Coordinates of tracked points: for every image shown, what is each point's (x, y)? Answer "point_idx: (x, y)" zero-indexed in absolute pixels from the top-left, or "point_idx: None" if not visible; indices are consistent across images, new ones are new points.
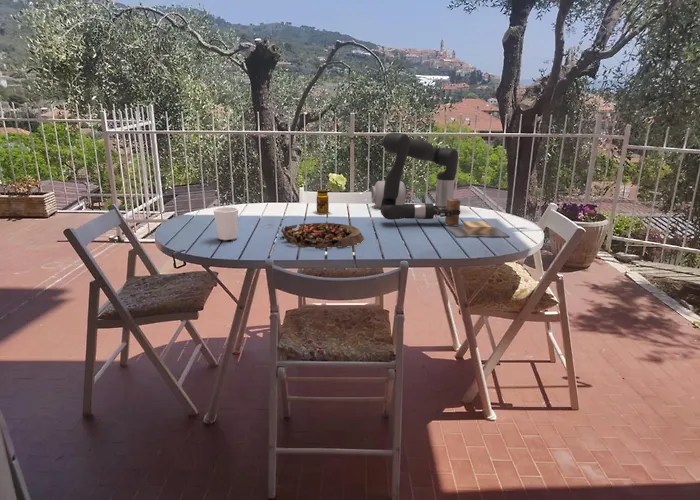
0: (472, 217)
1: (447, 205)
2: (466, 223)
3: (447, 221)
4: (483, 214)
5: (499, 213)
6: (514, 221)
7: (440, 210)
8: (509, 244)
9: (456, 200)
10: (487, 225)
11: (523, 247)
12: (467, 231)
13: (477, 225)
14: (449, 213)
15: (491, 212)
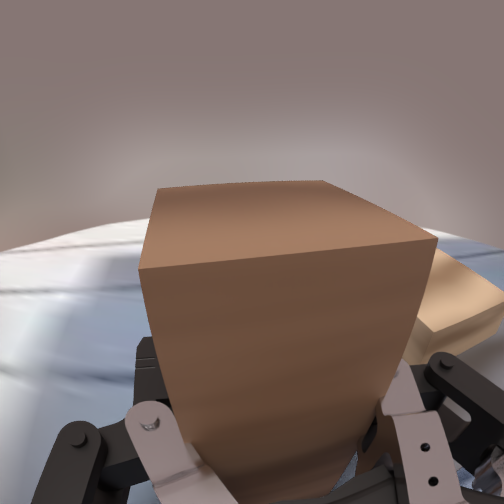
0: (50, 314)
1: (261, 396)
2: (467, 314)
3: (307, 491)
4: (24, 276)
5: (37, 246)
6: None
7: (494, 499)
8: (476, 257)
9: (319, 192)
10: None
11: (471, 243)
12: (480, 338)
13: (461, 278)
14: (443, 400)
15: (15, 258)
